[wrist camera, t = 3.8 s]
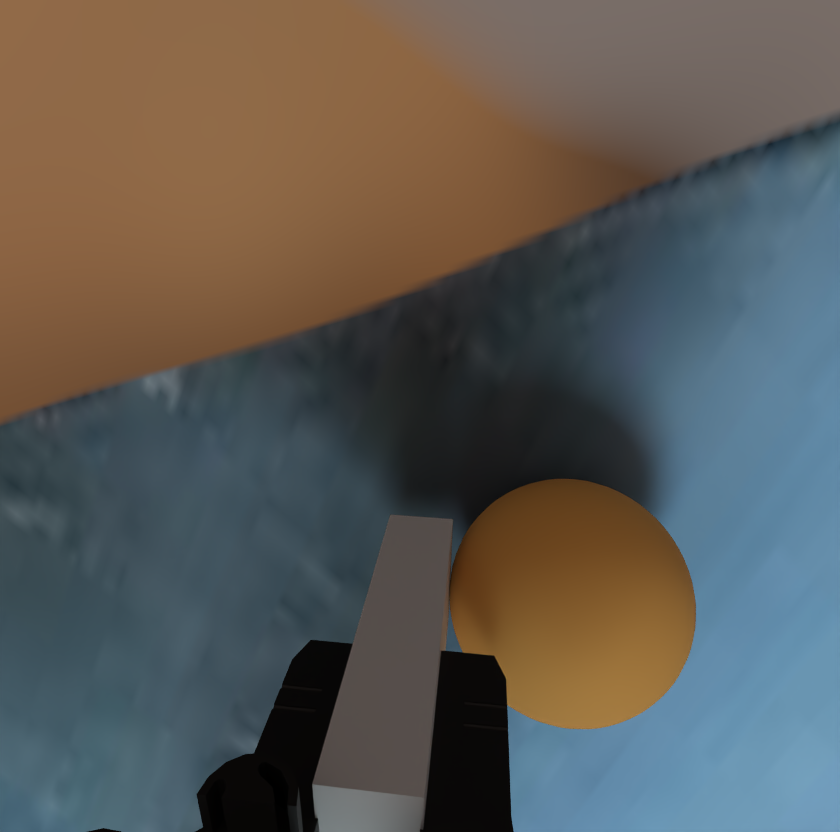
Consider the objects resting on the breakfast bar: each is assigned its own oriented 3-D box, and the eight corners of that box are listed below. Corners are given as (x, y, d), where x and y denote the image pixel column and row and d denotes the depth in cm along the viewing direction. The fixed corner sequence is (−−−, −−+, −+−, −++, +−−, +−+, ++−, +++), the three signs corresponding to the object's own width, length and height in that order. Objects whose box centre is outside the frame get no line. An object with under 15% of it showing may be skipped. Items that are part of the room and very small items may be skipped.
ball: (425, 619, 17) (476, 809, 12) (433, 446, 15) (500, 586, 10) (602, 601, 18) (720, 769, 13) (633, 436, 16) (788, 559, 11)
